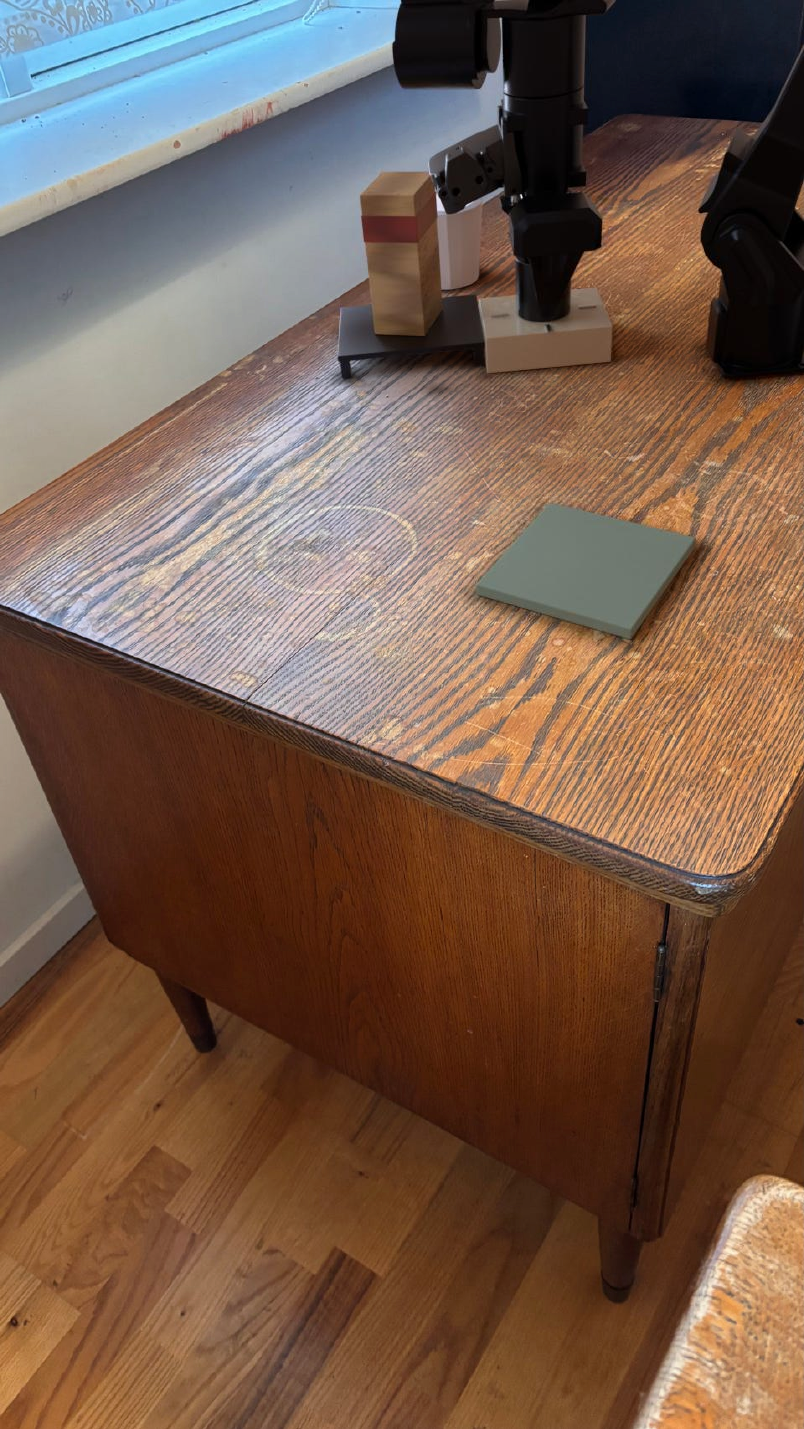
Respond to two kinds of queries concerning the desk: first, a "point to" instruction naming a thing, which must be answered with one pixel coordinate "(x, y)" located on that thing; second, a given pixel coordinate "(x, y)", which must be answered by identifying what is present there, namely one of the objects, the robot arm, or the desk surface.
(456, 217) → the white cup
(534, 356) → the panel
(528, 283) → the oven knob
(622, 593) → the mat
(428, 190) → the block
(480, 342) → the black low stand
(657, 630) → the desk surface
